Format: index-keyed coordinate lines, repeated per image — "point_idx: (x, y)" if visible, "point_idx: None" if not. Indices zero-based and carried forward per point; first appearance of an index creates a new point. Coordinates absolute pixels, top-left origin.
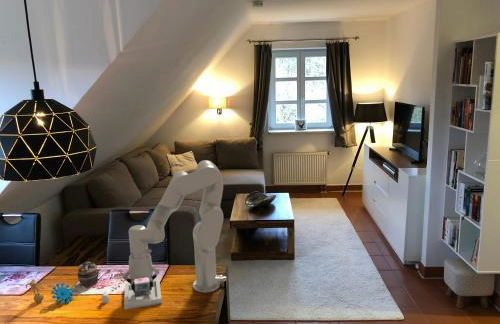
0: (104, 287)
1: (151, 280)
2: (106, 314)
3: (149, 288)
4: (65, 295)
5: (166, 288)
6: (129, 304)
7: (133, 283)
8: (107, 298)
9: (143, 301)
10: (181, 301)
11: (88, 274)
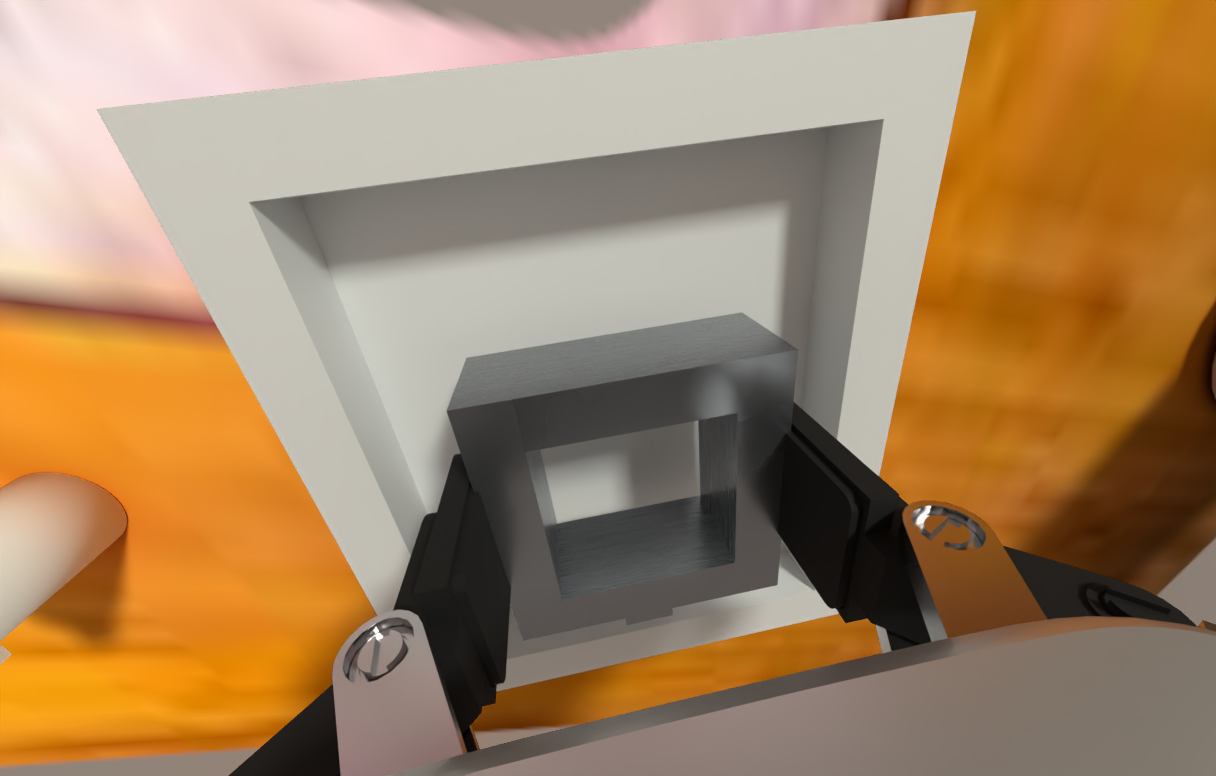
0: None
1: (904, 635)
2: (268, 698)
3: (765, 568)
4: None
5: (939, 256)
6: None
7: (473, 695)
8: (60, 588)
9: (652, 651)
10: None
11: None
